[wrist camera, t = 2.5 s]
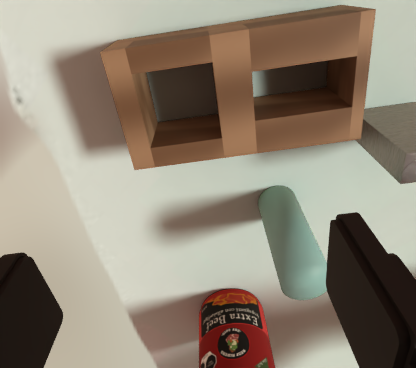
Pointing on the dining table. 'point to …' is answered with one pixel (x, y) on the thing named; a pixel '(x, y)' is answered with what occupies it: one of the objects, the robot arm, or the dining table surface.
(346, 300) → the robot arm
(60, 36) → the dining table surface
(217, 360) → the canned food
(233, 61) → the socket block
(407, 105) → the flat bit
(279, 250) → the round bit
